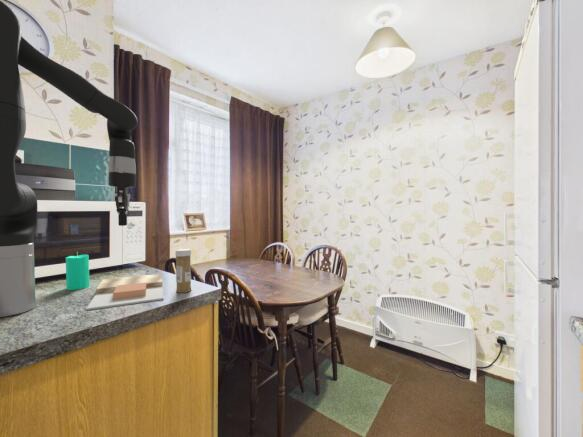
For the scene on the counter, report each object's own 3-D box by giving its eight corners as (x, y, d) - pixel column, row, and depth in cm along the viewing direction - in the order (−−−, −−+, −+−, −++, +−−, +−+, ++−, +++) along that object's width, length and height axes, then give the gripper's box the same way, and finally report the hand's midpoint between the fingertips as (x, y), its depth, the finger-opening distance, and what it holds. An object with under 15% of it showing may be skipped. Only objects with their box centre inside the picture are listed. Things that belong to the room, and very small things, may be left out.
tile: (113, 300, 74) (113, 293, 74) (117, 291, 81) (116, 285, 81) (145, 295, 78) (145, 289, 78) (146, 288, 85) (146, 282, 85)
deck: (96, 295, 79) (96, 289, 79) (103, 285, 90) (103, 279, 90) (162, 287, 87) (162, 281, 87) (161, 278, 98) (161, 273, 98)
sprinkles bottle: (192, 291, 83) (192, 249, 83) (177, 294, 81) (176, 251, 80) (189, 288, 87) (189, 248, 87) (174, 290, 85) (174, 249, 84)
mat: (86, 310, 68) (86, 308, 68) (96, 295, 79) (96, 293, 79) (163, 299, 76) (163, 297, 76) (162, 287, 87) (162, 286, 87)
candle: (92, 283, 91) (91, 249, 91) (85, 289, 85) (84, 252, 85) (71, 285, 89) (70, 250, 89) (62, 290, 84) (61, 253, 83)
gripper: (112, 173, 89) (112, 224, 90) (104, 168, 77) (105, 227, 78) (137, 175, 92) (137, 224, 93) (134, 170, 81) (134, 226, 81)
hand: (122, 225), depth 85 cm, fingers closed
